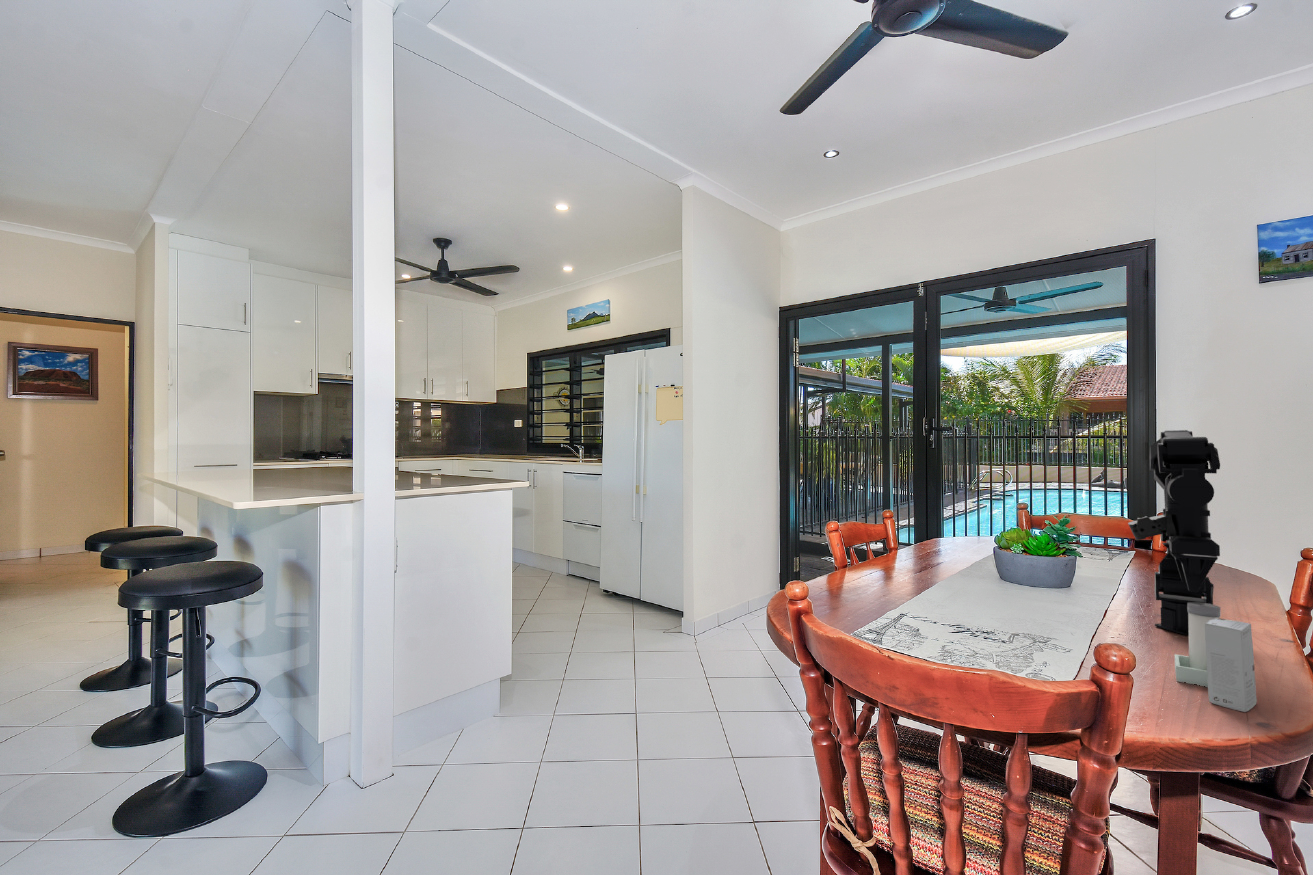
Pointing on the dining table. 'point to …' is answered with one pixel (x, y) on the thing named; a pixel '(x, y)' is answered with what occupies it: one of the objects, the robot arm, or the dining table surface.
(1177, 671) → the tray
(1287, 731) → the dining table surface
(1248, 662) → the skincare box
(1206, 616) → the cylinder
